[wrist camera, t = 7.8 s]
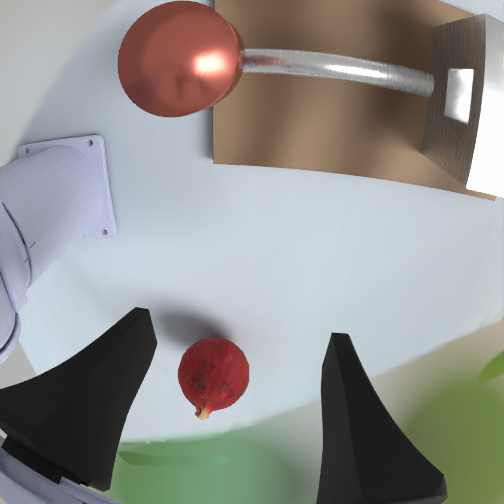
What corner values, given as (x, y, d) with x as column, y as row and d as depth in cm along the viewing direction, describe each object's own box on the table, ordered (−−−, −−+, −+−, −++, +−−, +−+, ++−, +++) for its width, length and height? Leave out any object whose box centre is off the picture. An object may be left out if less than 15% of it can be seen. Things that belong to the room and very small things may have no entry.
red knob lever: (182, 102, 16) (119, 120, 10) (182, 31, 14) (118, 12, 8) (401, 120, 15) (458, 147, 9) (407, 47, 12) (468, 35, 7)
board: (216, 160, 19) (213, 163, 18) (219, -23, 13) (216, -27, 12) (489, 196, 17) (494, 201, 16) (510, 36, 11) (516, 36, 10)
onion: (188, 313, 26) (156, 389, 19) (255, 321, 25) (239, 403, 19) (195, 356, 29) (172, 425, 22) (254, 364, 28) (241, 438, 22)
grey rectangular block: (420, 153, 16) (466, 188, 11) (432, 27, 12) (485, 13, 7) (453, 160, 16) (504, 197, 11) (466, 39, 11) (525, 34, 6)
